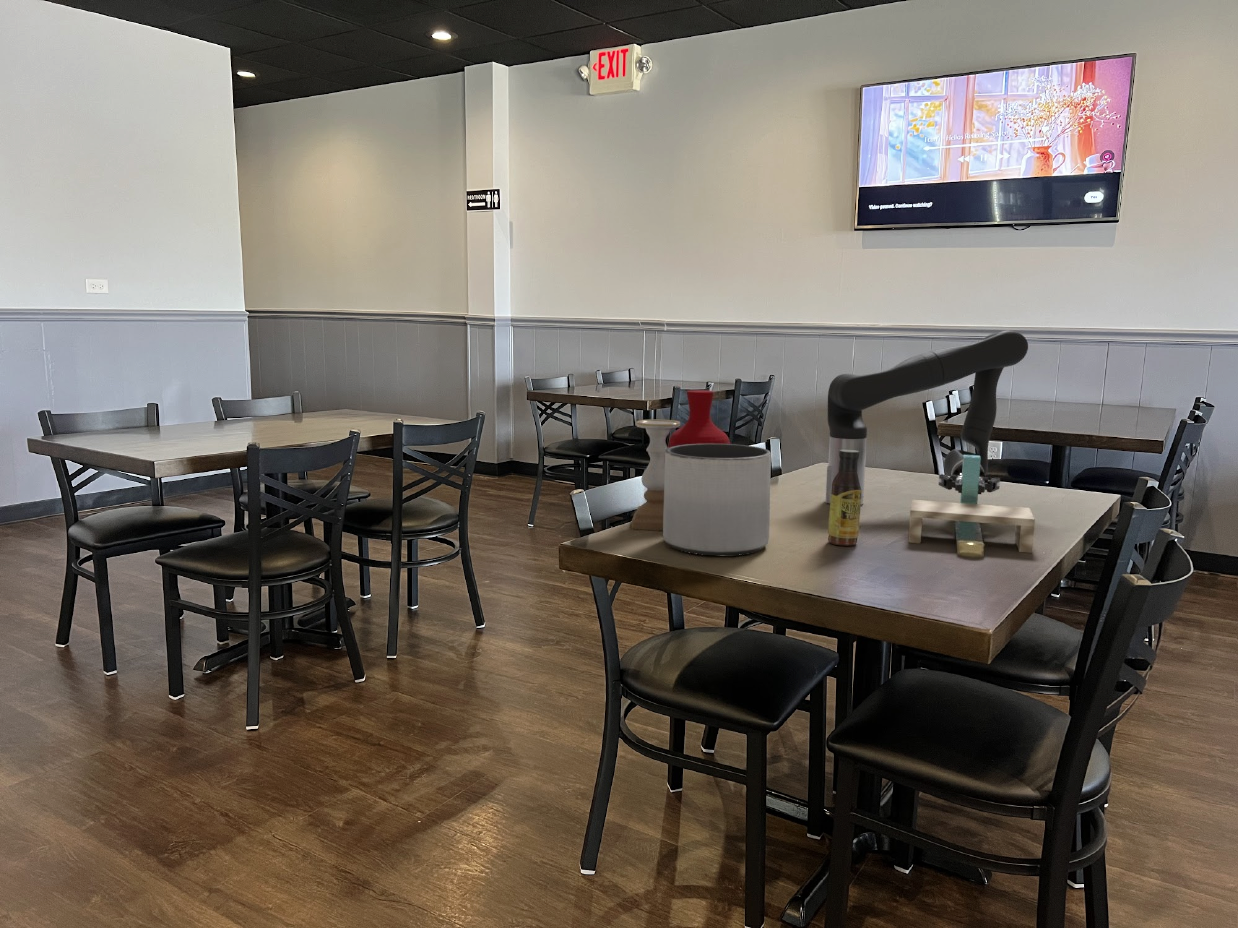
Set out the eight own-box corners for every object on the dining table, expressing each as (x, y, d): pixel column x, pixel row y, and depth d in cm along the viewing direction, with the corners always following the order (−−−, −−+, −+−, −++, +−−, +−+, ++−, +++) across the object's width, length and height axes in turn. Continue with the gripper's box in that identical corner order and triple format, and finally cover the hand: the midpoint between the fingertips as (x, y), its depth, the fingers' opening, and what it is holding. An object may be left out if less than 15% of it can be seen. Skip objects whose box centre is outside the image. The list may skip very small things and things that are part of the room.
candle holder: (681, 520, 207) (683, 419, 203) (679, 531, 196) (681, 424, 192) (635, 519, 208) (635, 418, 204) (631, 529, 197) (631, 424, 194)
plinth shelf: (908, 542, 187) (910, 510, 186) (910, 530, 199) (912, 499, 197) (1032, 552, 179) (1034, 519, 178) (1026, 539, 191) (1029, 507, 189)
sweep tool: (957, 548, 181) (962, 472, 178) (955, 522, 203) (959, 454, 200) (983, 551, 179) (989, 474, 177) (978, 524, 201) (983, 455, 198)
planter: (705, 564, 169) (708, 461, 166) (642, 540, 188) (643, 447, 185) (791, 549, 181) (794, 453, 178) (723, 528, 199) (725, 440, 196)
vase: (674, 506, 222) (676, 388, 217) (733, 510, 218) (736, 389, 213) (660, 518, 208) (662, 392, 203) (722, 523, 204) (725, 394, 199)
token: (957, 556, 176) (958, 544, 176) (956, 550, 181) (957, 539, 181) (984, 559, 175) (985, 546, 174) (982, 553, 180) (983, 541, 179)
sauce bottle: (841, 548, 182) (845, 453, 179) (821, 541, 187) (825, 449, 184) (865, 544, 185) (870, 451, 182) (844, 538, 190) (849, 447, 187)
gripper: (937, 459, 214) (937, 470, 198) (1000, 462, 209) (1006, 474, 193) (935, 489, 215) (935, 503, 199) (998, 493, 210) (1003, 508, 194)
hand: (970, 489), depth 196 cm, fingers closed on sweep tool, 3 cm apart
